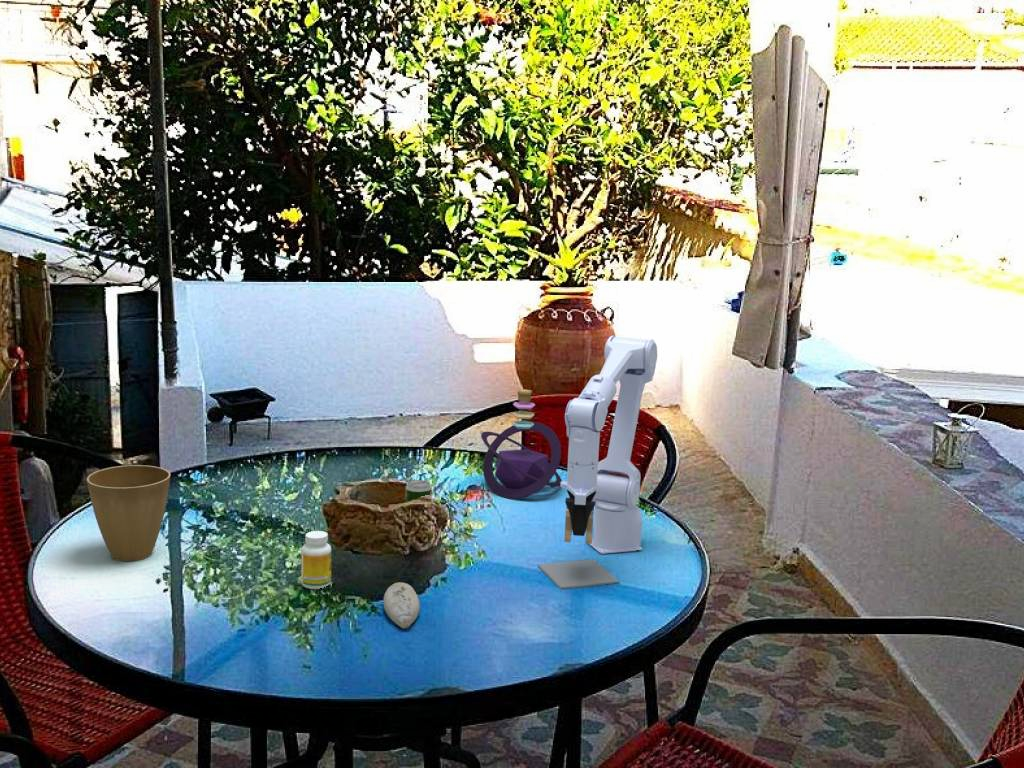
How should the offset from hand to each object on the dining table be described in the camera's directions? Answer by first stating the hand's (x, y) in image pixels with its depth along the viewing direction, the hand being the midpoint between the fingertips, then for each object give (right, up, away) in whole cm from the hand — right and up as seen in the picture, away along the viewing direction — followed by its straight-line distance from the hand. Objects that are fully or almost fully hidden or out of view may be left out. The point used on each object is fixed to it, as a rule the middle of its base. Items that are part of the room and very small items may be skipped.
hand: (579, 530), depth 190 cm
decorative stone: (-32, -12, -19) cm, 39 cm away
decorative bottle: (-11, +2, +57) cm, 58 cm away
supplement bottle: (-49, -9, -8) cm, 50 cm away
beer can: (-33, -5, +18) cm, 38 cm away
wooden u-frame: (0, -2, 0) cm, 2 cm away
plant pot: (-87, -5, +2) cm, 87 cm away
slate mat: (0, -9, +1) cm, 9 cm away
